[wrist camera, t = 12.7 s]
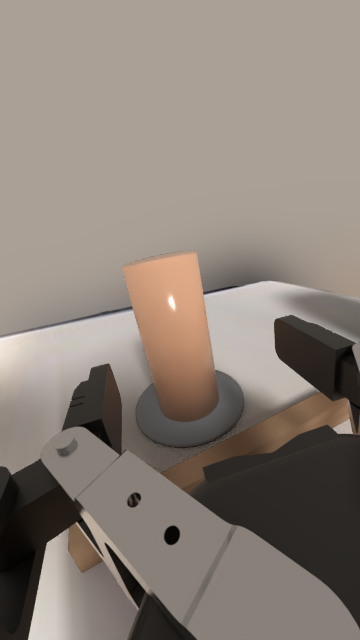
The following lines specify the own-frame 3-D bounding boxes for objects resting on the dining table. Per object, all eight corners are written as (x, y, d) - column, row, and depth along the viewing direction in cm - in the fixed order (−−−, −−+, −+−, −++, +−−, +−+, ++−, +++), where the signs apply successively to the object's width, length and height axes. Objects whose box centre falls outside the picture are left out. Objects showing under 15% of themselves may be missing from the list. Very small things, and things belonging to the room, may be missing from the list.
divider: (81, 572, 13) (68, 550, 12) (81, 541, 14) (69, 519, 13) (354, 415, 19) (356, 393, 18) (335, 403, 20) (337, 383, 19)
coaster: (116, 439, 21) (115, 435, 21) (160, 369, 29) (159, 367, 29) (238, 456, 17) (237, 452, 17) (247, 372, 26) (247, 368, 26)
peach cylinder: (150, 418, 22) (106, 272, 17) (171, 379, 26) (142, 257, 22) (212, 425, 20) (183, 262, 15) (223, 381, 24) (204, 247, 20)
